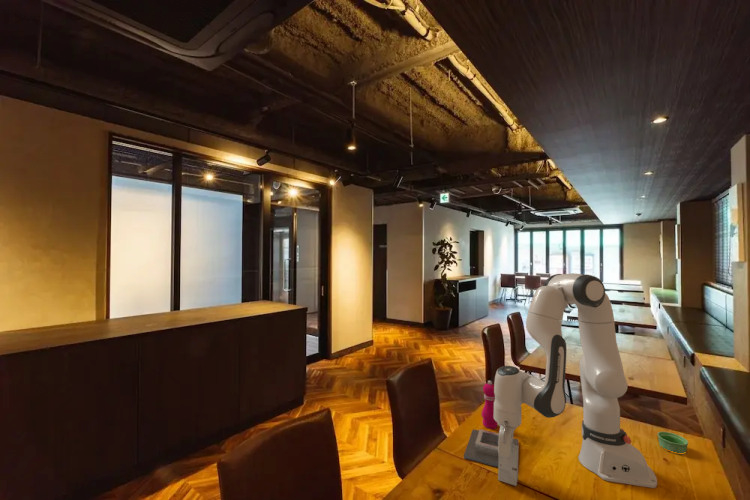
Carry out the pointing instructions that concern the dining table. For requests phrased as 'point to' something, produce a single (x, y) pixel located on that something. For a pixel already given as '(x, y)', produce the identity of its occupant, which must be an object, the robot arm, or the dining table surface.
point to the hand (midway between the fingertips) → (506, 455)
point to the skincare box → (509, 467)
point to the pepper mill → (489, 406)
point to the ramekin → (672, 442)
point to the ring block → (484, 447)
